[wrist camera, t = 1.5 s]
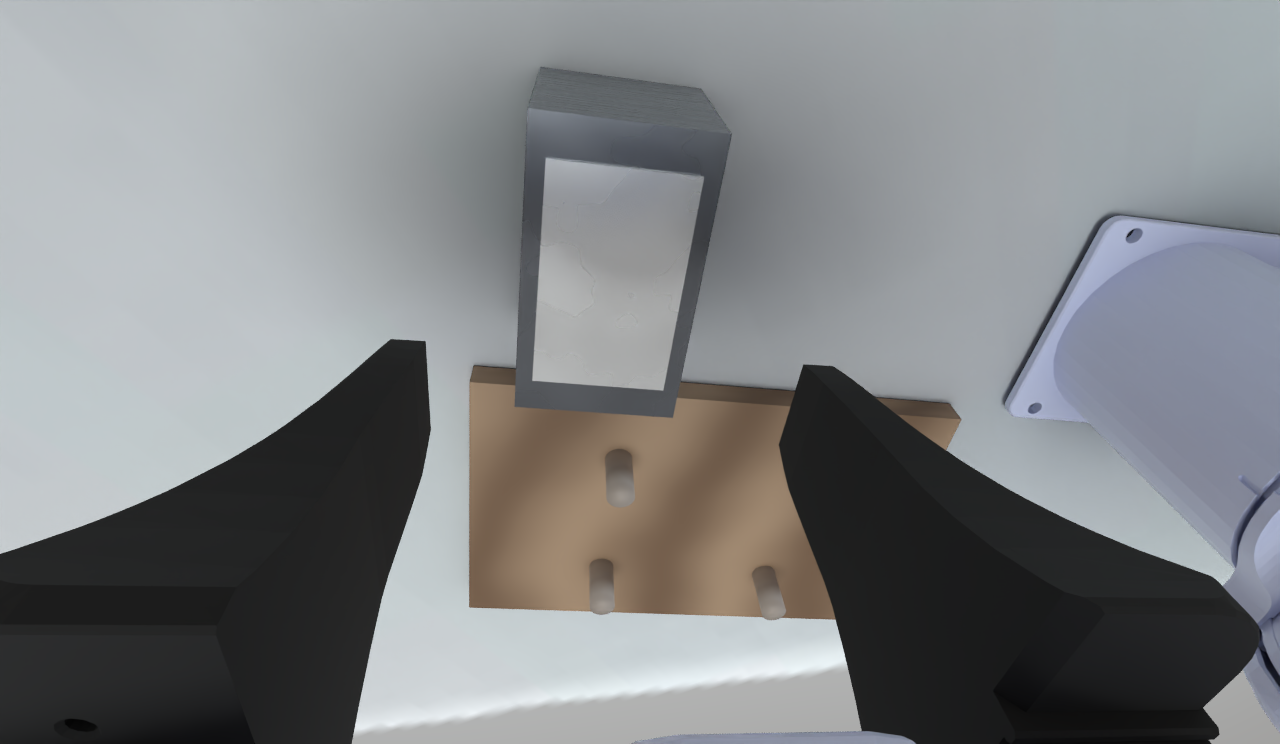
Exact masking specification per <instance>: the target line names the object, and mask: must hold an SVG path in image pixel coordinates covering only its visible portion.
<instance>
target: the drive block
mask: <svg viewBox="0 0 1280 744" xmlns="http://www.w3.org/2000/svg"><path fill="white" fill-rule="evenodd" d="M731 135H732V134H731V132H730V131H729V129H728V128H727V126H726V125H725V124H724V122H723V121H722V119H721V118H720V116H719V115H718V113H717V112H716V110H715V109H714V107H713V106H712V104H711V103H710V101H709V100H708V99H707V97H706V96H705V94H704V93H703V91H702V90H701V89H699V88H691V87H684V86H677V85H669V84H662V83H655V82H647V81H640V80H633V79H625V78H618V77H611V76H603V75H596V74H589V73H581V72H574V71H566V70H559V69H552V68H544V67H540V70H539V73H538V76H537V80H536V83H535V86H534V89H533V92H532V96H531V99H530V102H529V105H528V109H527V132H526V155H525V178H524V200H523V223H522V246H521V269H520V291H519V314H518V337H517V359H516V382H515V405H514V407H523V408H538V409H552V410H566V411H581V412H595V413H609V414H624V415H638V416H652V417H667V418H673V415H674V410H675V405H676V401H677V396H678V391H679V386H680V381H681V376H682V372H683V367H684V362H685V357H686V352H687V348H688V343H689V338H690V333H691V328H692V323H693V319H694V314H695V309H696V304H697V299H698V294H699V290H700V285H701V280H702V275H703V270H704V266H705V261H706V256H707V251H708V246H709V241H710V237H711V232H712V227H713V222H714V217H715V212H716V208H717V203H718V198H719V193H720V188H721V184H722V179H723V174H724V169H725V164H726V159H727V155H728V150H729V145H730V140H731Z"/></svg>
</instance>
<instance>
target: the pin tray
mask: <svg viewBox="0 0 1280 744" xmlns="http://www.w3.org/2000/svg"><path fill="white" fill-rule="evenodd" d="M515 382H516V369H507V368H494V367H481V366H474V367H473V371H472V375H471V379H470V499H469V607H472V608H502V609H533V610H563V611H592V612H593V613H595V614H600V615H603V614H608V613H610V612H624V613H654V614H684V615H714V616H745V617H763V618H765V619H767V620H776V619H779V618H805V619H835V615H834V611H833V607H832V604H831V601H830V598H829V595H828V592H827V589H826V586H825V583H824V580H823V578H822V575H821V573H820V570H819V568H818V565H817V562H816V560H815V557H814V555H813V552H812V550H811V547H810V544H809V542H808V539H807V537H806V534H805V532H804V529H803V526H802V524H801V521H800V519H799V516H798V513H797V511H796V508H795V505H794V503H793V500H792V497H791V495H790V492H789V489H788V485H787V481H786V477H785V473H784V469H783V464H782V459H781V454H780V449H779V442H780V439H781V436H782V432H783V429H784V426H785V423H786V419H787V416H788V413H789V410H790V407H791V403H792V400H793V397H794V394H795V391H784V390H771V389H759V388H746V387H734V386H721V385H708V384H696V383H683V382H680V386H679V391H678V396H677V401H676V405H675V410H674V415H673V418H667V417H652V416H638V415H624V414H609V413H595V412H581V411H566V410H552V409H538V408H523V407H514V405H515ZM877 399H878V400H879V401H880V402H882V403H883V404H884V405H885V406H887V407H888V408H889V409H891V410H892V411H893V412H894V413H896V414H897V415H898V416H900V417H901V418H902V419H903V420H905V421H906V422H907V423H909V424H910V425H911V426H913V427H914V428H915V429H917V430H918V431H919V432H921V433H922V434H923V435H925V436H926V437H928V438H929V439H930V440H932V441H933V442H935V443H936V444H937V445H939V446H940V447H942V448H943V449H945V450H946V449H947V447H948V445H949V443H950V441H951V439H952V437H953V435H954V433H955V431H956V429H957V427H958V425H959V423H960V421H961V418H960V417H959V416H958V414H957V413H956V412H955V410H954V409H953V408H952V406H951V405H950V404H948V403H935V402H923V401H910V400H898V399H885V398H877ZM835 620H836V619H835Z"/></svg>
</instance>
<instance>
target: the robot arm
mask: <svg viewBox="0 0 1280 744" xmlns="http://www.w3.org/2000/svg"><path fill="white" fill-rule="evenodd" d="M1133 229H1134V231H1133V233H1132V234H1131V235H1130V236H1129V237H1127V238H1126V236H1127V234H1128V233H1129V232H1130V231H1131V230H1133ZM1034 403H1035V404H1034ZM1032 404H1034V405H1033V406H1031V407H1030V405H1032ZM1005 409H1006V410H1007V411H1008V412H1009V413H1010V414H1011V415H1012V416H1015V417H1024V418H1037V419H1049V420H1062V421H1075V422H1088V423H1089V424H1090V425H1091V426H1092V427H1093V428H1094V429H1095V430H1096V431H1097V432H1098V433H1099V434H1100V435H1101V436H1102V437H1103V438H1104V439H1105V440H1106V441H1107V442H1108V443H1109V444H1110V445H1111V446H1112V447H1113V448H1114V449H1115V450H1116V451H1117V452H1118V453H1119V454H1120V455H1121V456H1122V457H1123V458H1124V459H1125V460H1126V461H1127V462H1128V463H1129V464H1130V465H1131V466H1132V467H1133V468H1134V469H1135V470H1136V471H1137V472H1138V473H1139V474H1140V475H1141V476H1142V477H1143V478H1144V479H1145V480H1146V481H1147V482H1148V483H1149V484H1150V485H1151V486H1152V487H1153V488H1154V489H1155V490H1156V491H1157V492H1158V493H1159V494H1160V495H1161V496H1162V497H1163V498H1164V499H1165V500H1166V501H1167V502H1168V503H1169V504H1170V505H1171V506H1172V507H1173V508H1174V509H1175V510H1176V511H1177V512H1178V513H1179V514H1180V515H1181V516H1182V517H1183V518H1184V519H1185V520H1186V521H1187V522H1188V523H1189V524H1190V525H1191V526H1192V527H1193V528H1194V529H1195V530H1196V531H1197V532H1198V533H1199V534H1200V535H1201V536H1202V537H1203V538H1204V539H1205V540H1206V541H1207V542H1208V543H1209V544H1210V545H1211V546H1212V547H1213V548H1214V549H1215V550H1216V551H1217V552H1218V553H1219V554H1220V555H1221V556H1222V557H1223V558H1224V559H1225V560H1226V561H1227V562H1228V563H1229V564H1230V565H1231V566H1232V567H1233V568H1234V569H1235V571H1234V573H1233V574H1232V576H1231V577H1230V579H1229V580H1228V581H1227V582H1226V583H1225V584H1224V585H1223V586H1222V585H1221V584H1220V583H1219V582H1218V581H1217V580H1216V579H1214V578H1213V577H1211V576H1209V575H1206V574H1203V573H1201V572H1198V571H1195V570H1192V569H1189V568H1187V567H1184V566H1181V565H1178V564H1175V563H1173V562H1170V561H1167V560H1164V559H1162V558H1159V557H1156V556H1153V555H1150V554H1148V553H1145V552H1142V551H1139V550H1137V549H1134V548H1132V547H1129V546H1127V545H1125V544H1122V543H1120V542H1117V541H1115V540H1113V539H1110V538H1108V537H1106V536H1103V535H1101V534H1098V533H1096V532H1094V531H1091V530H1089V529H1087V528H1085V527H1082V526H1080V525H1078V524H1076V523H1074V522H1072V521H1069V520H1067V519H1065V518H1063V517H1061V516H1059V515H1057V514H1055V513H1053V512H1051V511H1049V510H1047V509H1045V508H1043V507H1041V506H1039V505H1037V504H1035V503H1033V502H1031V501H1029V500H1027V499H1025V498H1023V497H1022V496H1020V495H1018V494H1016V493H1014V492H1012V491H1010V490H1009V489H1007V488H1005V487H1003V486H1002V485H1000V484H998V483H997V482H995V481H993V480H992V479H990V478H988V477H987V476H985V475H983V474H982V473H980V472H978V471H977V470H975V469H973V468H972V467H970V466H969V465H967V464H965V463H964V462H962V461H961V460H959V459H958V458H956V457H955V456H953V455H952V454H950V453H949V452H948V451H946V450H945V449H943V448H942V447H940V446H939V445H937V444H936V443H935V442H933V441H932V440H930V439H929V438H928V437H926V436H925V435H923V434H922V433H921V432H919V431H918V430H917V429H915V428H914V427H913V426H911V425H910V424H909V423H907V422H906V421H905V420H903V419H902V418H901V417H900V416H898V415H897V414H896V413H894V412H893V411H892V410H891V409H889V408H888V407H887V406H885V405H884V404H883V403H882V402H880V401H879V400H878V399H877V398H875V397H874V396H873V395H871V394H870V393H869V392H868V391H866V390H865V389H864V388H863V387H861V386H860V385H859V384H857V383H856V382H855V381H853V380H852V379H851V378H849V377H848V376H847V375H845V374H844V373H842V372H841V371H840V370H838V369H836V368H835V367H833V366H819V365H803V368H802V371H801V374H800V378H799V381H798V384H797V387H796V390H795V394H794V397H793V400H792V403H791V407H790V410H789V413H788V416H787V419H786V423H785V426H784V429H783V432H782V436H781V439H780V442H779V449H780V454H781V459H782V464H783V469H784V473H785V477H786V481H787V485H788V489H789V492H790V495H791V497H792V500H793V503H794V505H795V508H796V511H797V513H798V516H799V519H800V521H801V524H802V526H803V529H804V532H805V534H806V537H807V539H808V542H809V544H810V547H811V550H812V552H813V555H814V557H815V560H816V562H817V565H818V568H819V570H820V573H821V575H822V578H823V580H824V583H825V586H826V589H827V592H828V595H829V598H830V601H831V604H832V607H833V611H834V615H835V619H836V622H837V626H838V630H839V634H840V638H841V641H842V645H843V649H844V653H845V657H846V662H847V666H848V670H849V674H850V678H851V683H852V687H853V691H854V696H855V700H856V705H857V710H858V715H859V719H860V724H861V729H862V731H858V732H856V731H853V732H803V733H802V732H799V733H744V734H690V735H674V736H667V737H661V738H654V739H648V740H642V741H636V742H634V743H632V744H1211V743H1210V741H1209V740H1210V739H1215V738H1216V737H1217V736H1218V735H1219V729H1218V727H1217V725H1216V724H1215V723H1214V721H1212V719H1211V718H1210V716H1209V715H1208V714H1207V713H1206V712H1205V710H1204V709H1203V707H1204V706H1205V705H1206V704H1207V703H1208V702H1209V701H1210V700H1211V699H1212V698H1213V697H1215V696H1216V695H1217V694H1218V693H1219V692H1220V691H1221V690H1222V689H1223V688H1224V687H1225V686H1226V685H1227V684H1228V683H1229V682H1230V681H1231V680H1233V679H1234V678H1235V677H1236V676H1237V675H1238V674H1239V673H1240V672H1241V671H1242V670H1243V671H1244V673H1245V675H1246V677H1247V680H1248V682H1249V683H1250V685H1251V687H1252V689H1253V692H1254V694H1255V696H1256V698H1257V700H1258V702H1259V704H1260V705H1261V707H1262V709H1263V710H1264V712H1265V713H1266V715H1267V716H1268V718H1269V719H1270V721H1271V722H1272V723H1273V724H1274V726H1275V727H1276V729H1277V730H1278V731H1279V732H1280V235H1276V234H1267V233H1259V232H1251V231H1243V230H1235V229H1227V228H1219V227H1211V226H1203V225H1194V224H1186V223H1178V222H1170V221H1162V220H1154V219H1146V218H1138V217H1130V216H1122V215H1121V216H1114V217H1112V218H1110V219H1108V220H1107V221H1106V222H1104V223H1103V225H1102V226H1101V227H1100V229H1099V230H1098V232H1097V234H1096V236H1095V238H1094V240H1093V242H1092V243H1091V245H1090V247H1089V249H1088V251H1087V253H1086V254H1085V256H1084V258H1083V260H1082V262H1081V264H1080V265H1079V267H1078V269H1077V271H1076V273H1075V275H1074V277H1073V278H1072V280H1071V282H1070V284H1069V286H1068V288H1067V289H1066V291H1065V293H1064V295H1063V297H1062V299H1061V300H1060V302H1059V304H1058V306H1057V308H1056V310H1055V312H1054V313H1053V315H1052V317H1051V319H1050V321H1049V323H1048V324H1047V326H1046V328H1045V330H1044V332H1043V334H1042V335H1041V337H1040V339H1039V341H1038V343H1037V345H1036V347H1035V348H1034V350H1033V352H1032V354H1031V356H1030V358H1029V359H1028V361H1027V363H1026V365H1025V367H1024V369H1023V370H1022V372H1021V374H1020V376H1019V378H1018V380H1017V382H1016V383H1015V385H1014V387H1013V389H1012V391H1011V393H1010V394H1009V396H1008V398H1007V400H1006V403H1005ZM430 431H431V426H430V409H429V392H428V375H427V358H426V341H412V340H396V339H391V340H389V341H388V342H387V343H386V344H385V345H383V346H382V347H381V348H380V349H378V350H377V351H376V352H375V353H374V354H373V355H372V356H370V357H369V358H368V359H367V360H366V361H365V362H364V363H363V364H361V365H360V366H359V367H358V368H357V369H356V370H355V371H353V372H352V373H351V374H350V375H349V376H348V377H346V378H345V379H344V380H343V381H342V382H340V383H339V384H338V385H337V386H336V387H334V388H333V389H332V390H331V391H330V392H328V393H327V394H326V395H325V396H324V397H322V398H321V399H320V400H319V401H317V402H316V403H315V404H313V405H312V406H310V407H309V408H308V409H306V410H305V411H304V412H302V413H301V414H300V415H298V416H297V417H296V418H294V419H293V420H292V421H290V422H289V423H287V424H286V425H285V426H283V427H282V428H280V429H279V430H277V431H276V432H274V433H273V434H271V435H270V436H268V437H266V438H265V439H263V440H262V441H260V442H258V443H257V444H255V445H253V446H252V447H250V448H248V449H247V450H245V451H243V452H242V453H240V454H238V455H237V456H235V457H233V458H231V459H230V460H228V461H226V462H224V463H222V464H220V465H218V466H216V467H214V468H212V469H210V470H208V471H206V472H204V473H202V474H200V475H198V476H197V477H195V478H193V479H191V480H189V481H187V482H185V483H183V484H181V485H179V486H177V487H175V488H173V489H171V490H168V491H166V492H164V493H162V494H160V495H157V496H155V497H153V498H151V499H148V500H146V501H144V502H141V503H139V504H137V505H135V506H132V507H130V508H127V509H125V510H122V511H120V512H117V513H115V514H112V515H110V516H107V517H105V518H102V519H100V520H97V521H95V522H92V523H89V524H87V525H84V526H81V527H79V528H76V529H73V530H70V531H67V532H64V533H61V534H58V535H55V536H52V537H50V538H47V539H44V540H41V541H38V542H35V543H32V544H29V545H26V546H23V547H20V548H18V549H15V550H12V551H8V552H5V553H2V554H0V744H352V738H353V733H354V728H355V723H356V717H357V712H358V707H359V702H360V697H361V692H362V687H363V682H364V678H365V673H366V668H367V663H368V658H369V653H370V649H371V644H372V640H373V635H374V631H375V626H376V621H377V617H378V612H379V608H380V603H381V599H382V596H383V592H384V589H385V585H386V582H387V578H388V575H389V572H390V569H391V566H392V563H393V560H394V557H395V554H396V552H397V549H398V546H399V543H400V540H401V537H402V534H403V531H404V528H405V525H406V522H407V519H408V516H409V513H410V510H411V507H412V504H413V501H414V498H415V495H416V492H417V489H418V486H419V483H420V480H421V477H422V473H423V468H424V463H425V458H426V453H427V447H428V442H429V436H430Z"/></svg>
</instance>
